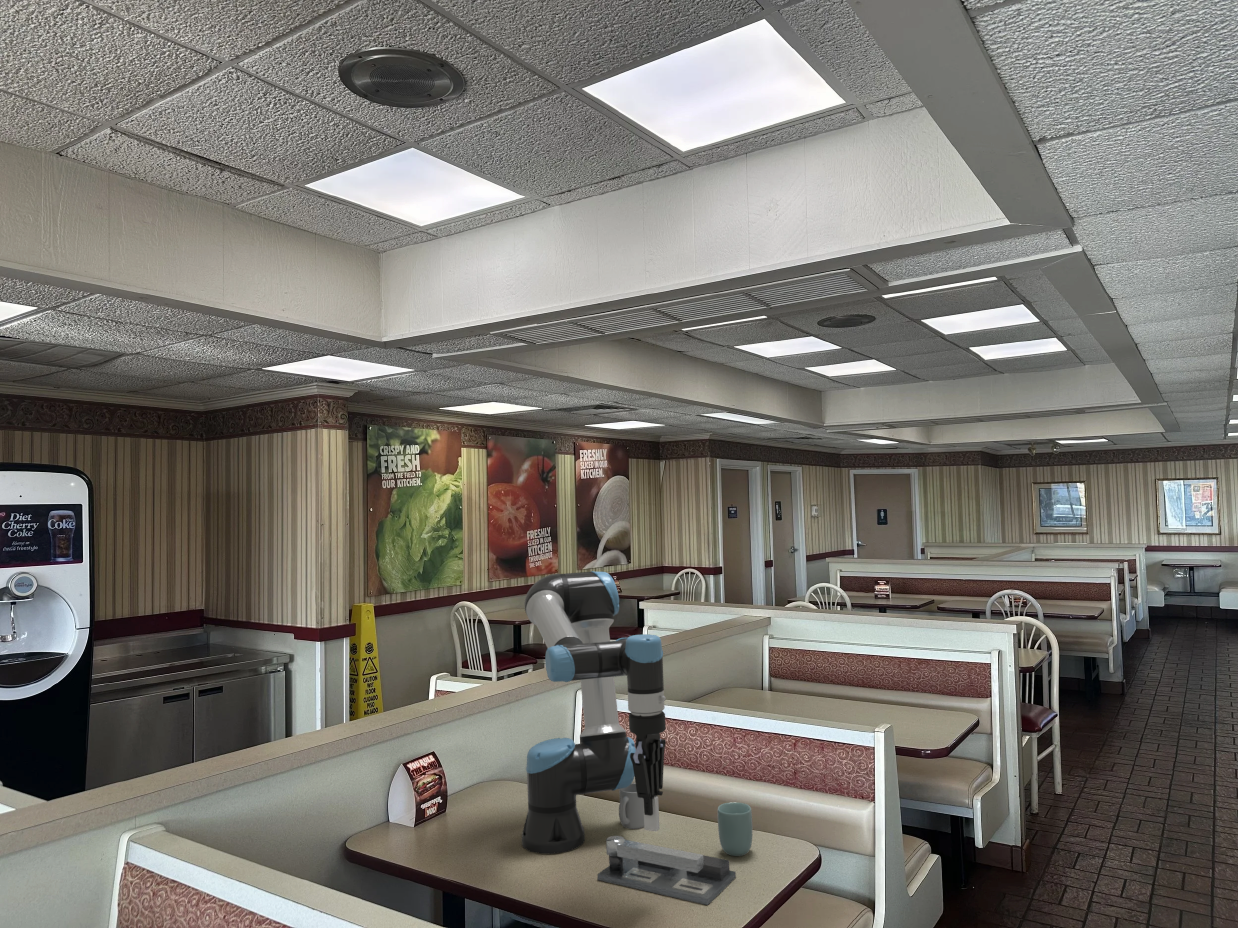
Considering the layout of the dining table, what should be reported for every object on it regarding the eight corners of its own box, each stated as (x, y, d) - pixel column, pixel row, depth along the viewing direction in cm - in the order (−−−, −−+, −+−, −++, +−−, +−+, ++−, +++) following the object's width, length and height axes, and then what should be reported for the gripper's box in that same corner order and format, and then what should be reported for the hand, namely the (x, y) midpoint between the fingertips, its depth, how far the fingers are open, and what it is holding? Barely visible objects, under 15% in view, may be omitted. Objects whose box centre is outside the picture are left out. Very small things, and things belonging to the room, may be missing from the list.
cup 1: (654, 821, 212) (653, 785, 212) (633, 835, 203) (631, 797, 204) (630, 816, 216) (629, 781, 216) (608, 829, 207) (607, 793, 208)
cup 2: (752, 860, 186) (750, 814, 187) (717, 858, 188) (715, 813, 188) (754, 846, 194) (752, 802, 194) (720, 844, 195) (718, 801, 196)
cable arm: (603, 853, 182) (602, 840, 182) (612, 847, 185) (612, 834, 185) (696, 873, 170) (695, 859, 170) (704, 866, 174) (704, 852, 174)
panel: (597, 879, 179) (596, 859, 180) (630, 855, 191) (629, 836, 192) (707, 905, 166) (706, 883, 166) (735, 877, 178) (734, 857, 178)
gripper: (650, 720, 165) (656, 843, 163) (675, 705, 176) (681, 820, 175) (616, 717, 168) (621, 838, 166) (643, 703, 180) (648, 816, 178)
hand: (652, 829), depth 170 cm, fingers closed
